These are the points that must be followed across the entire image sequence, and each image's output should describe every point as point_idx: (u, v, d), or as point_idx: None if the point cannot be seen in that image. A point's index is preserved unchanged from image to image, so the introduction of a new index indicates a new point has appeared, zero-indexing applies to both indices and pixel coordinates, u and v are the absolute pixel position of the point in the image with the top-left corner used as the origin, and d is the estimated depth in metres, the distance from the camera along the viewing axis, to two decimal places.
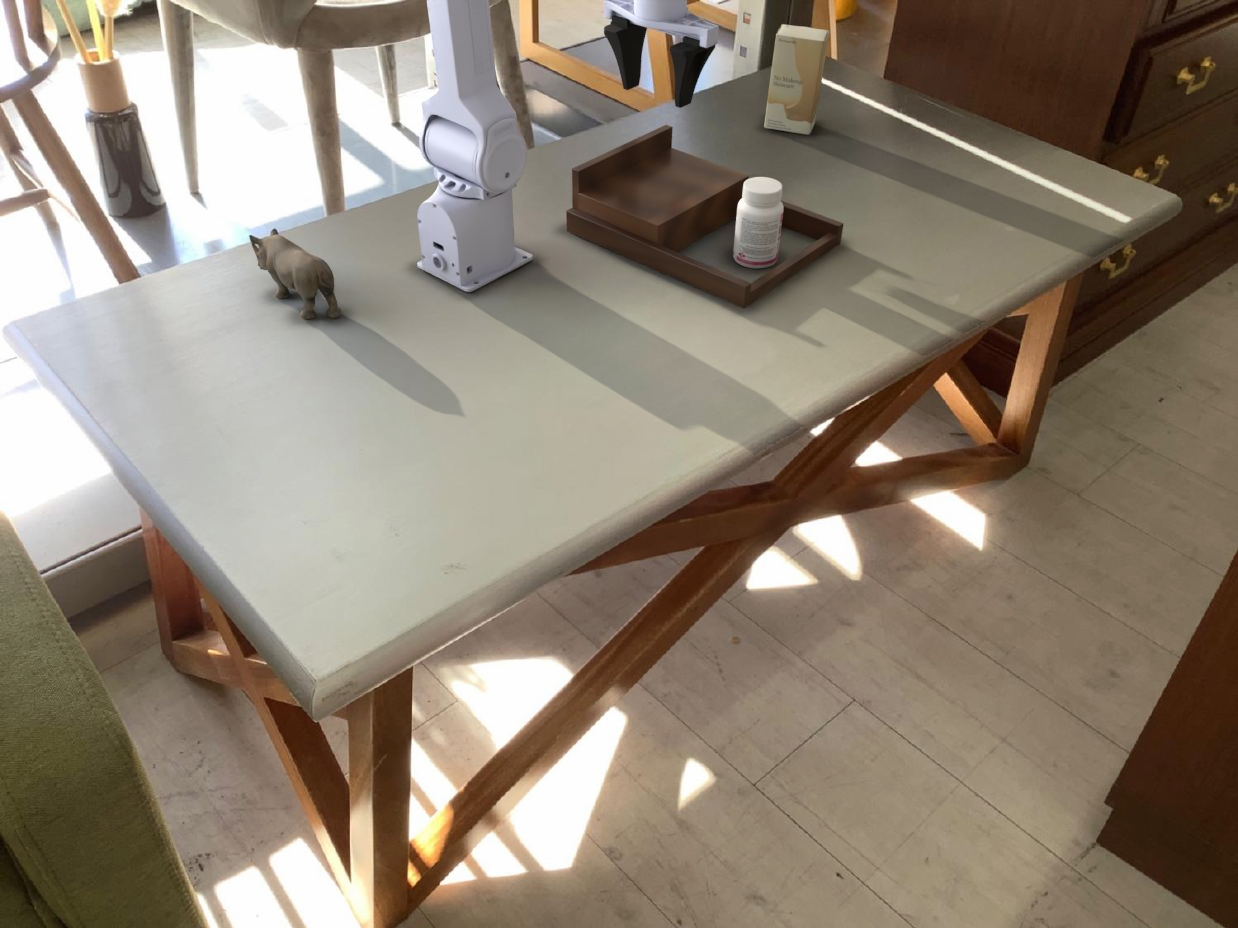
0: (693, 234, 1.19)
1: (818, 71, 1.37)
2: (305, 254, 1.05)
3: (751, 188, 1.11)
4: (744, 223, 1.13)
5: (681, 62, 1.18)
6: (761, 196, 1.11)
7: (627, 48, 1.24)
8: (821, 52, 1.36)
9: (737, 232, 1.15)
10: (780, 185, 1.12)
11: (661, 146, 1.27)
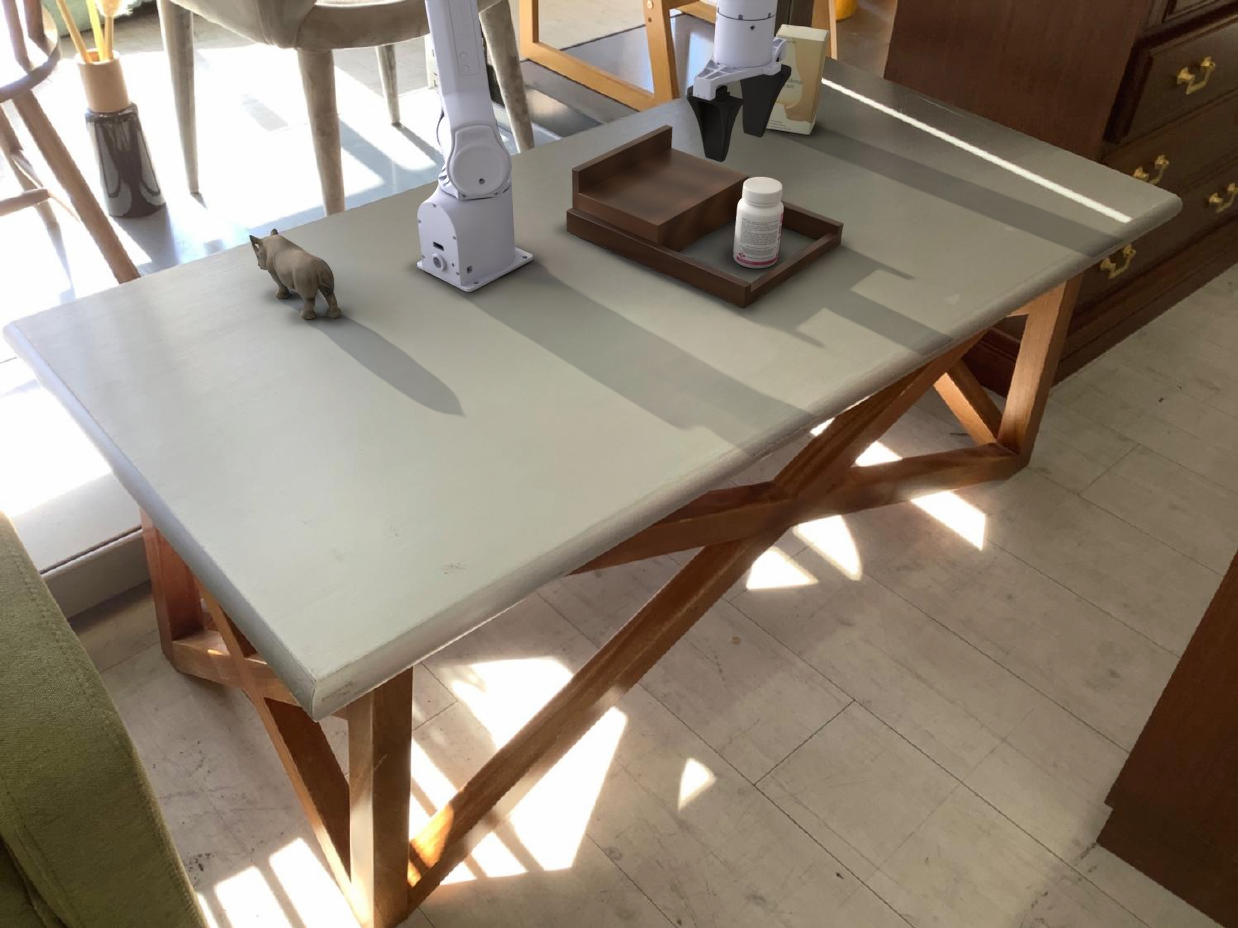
0: (693, 234, 1.19)
1: (818, 71, 1.37)
2: (305, 254, 1.05)
3: (751, 188, 1.11)
4: (744, 223, 1.13)
5: None
6: (761, 196, 1.11)
7: (749, 89, 1.14)
8: (821, 52, 1.36)
9: (737, 232, 1.15)
10: (780, 185, 1.12)
11: (661, 146, 1.27)
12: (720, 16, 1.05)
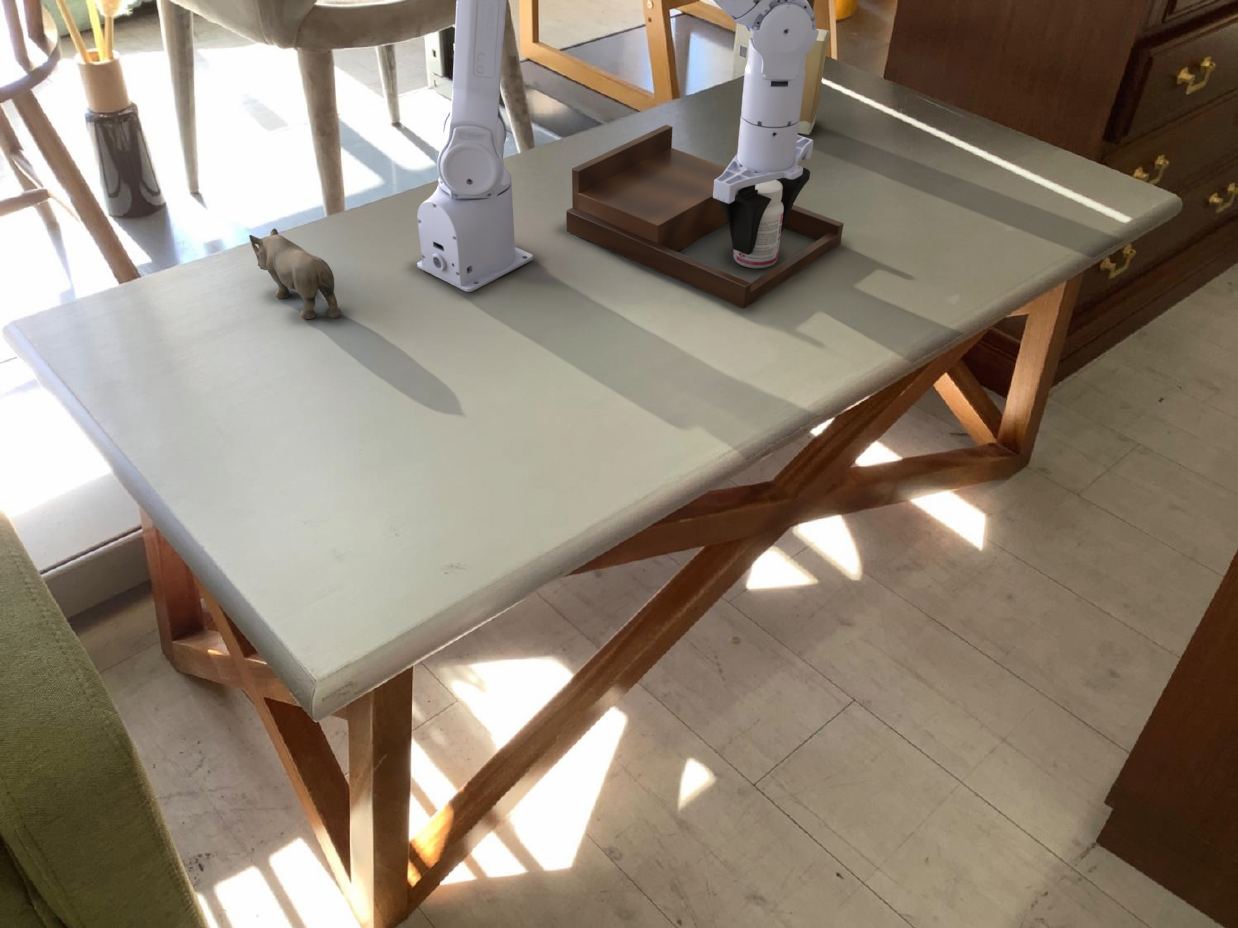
0: (693, 234, 1.19)
1: (818, 71, 1.37)
2: (305, 254, 1.05)
3: None
4: None
5: None
6: None
7: None
8: (821, 52, 1.36)
9: None
10: (780, 185, 1.12)
11: (661, 146, 1.27)
12: (743, 121, 1.07)
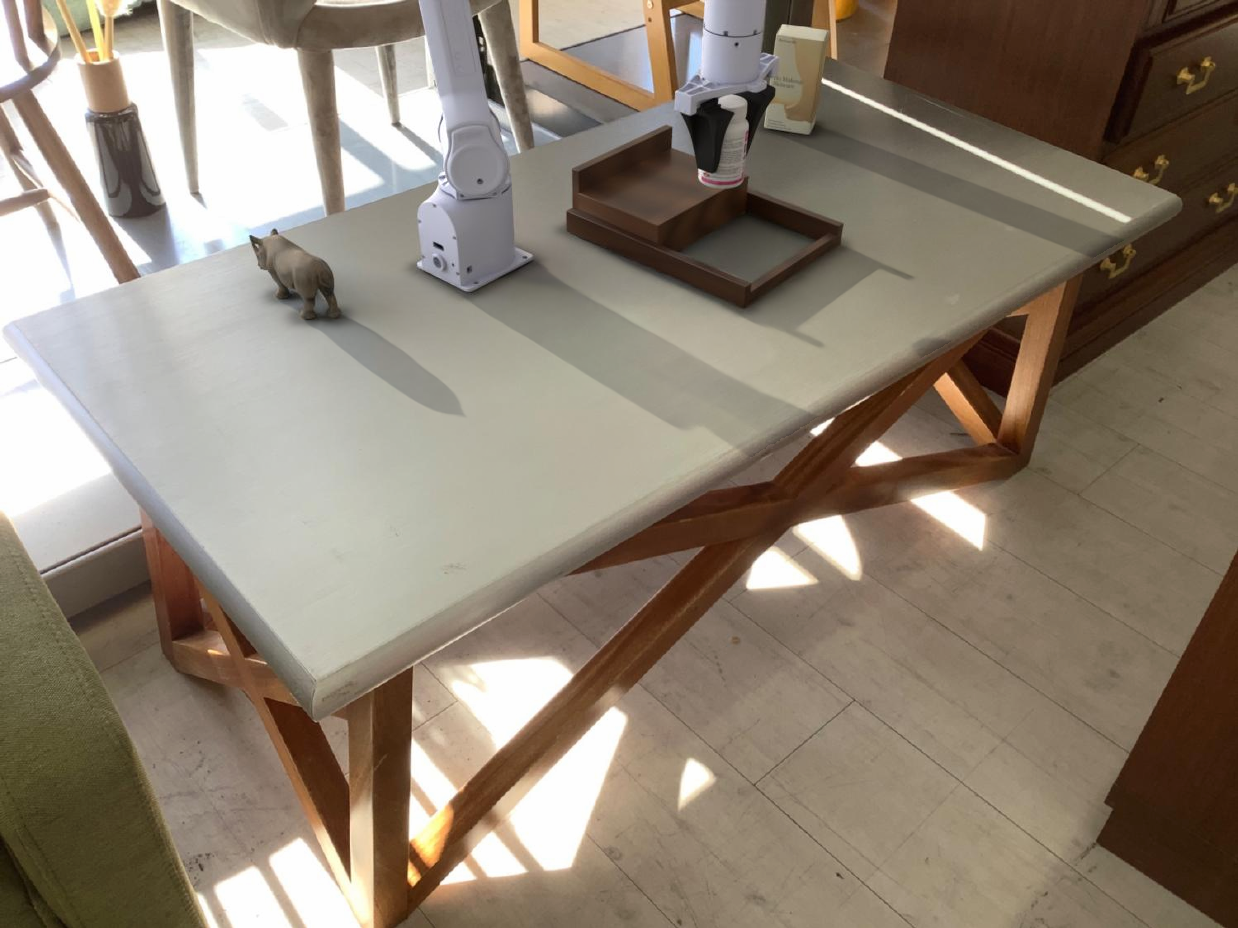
0: (693, 234, 1.19)
1: (818, 71, 1.37)
2: (305, 254, 1.05)
3: None
4: None
5: None
6: None
7: None
8: (821, 52, 1.36)
9: None
10: (745, 101, 1.10)
11: (661, 146, 1.27)
12: (705, 31, 1.05)
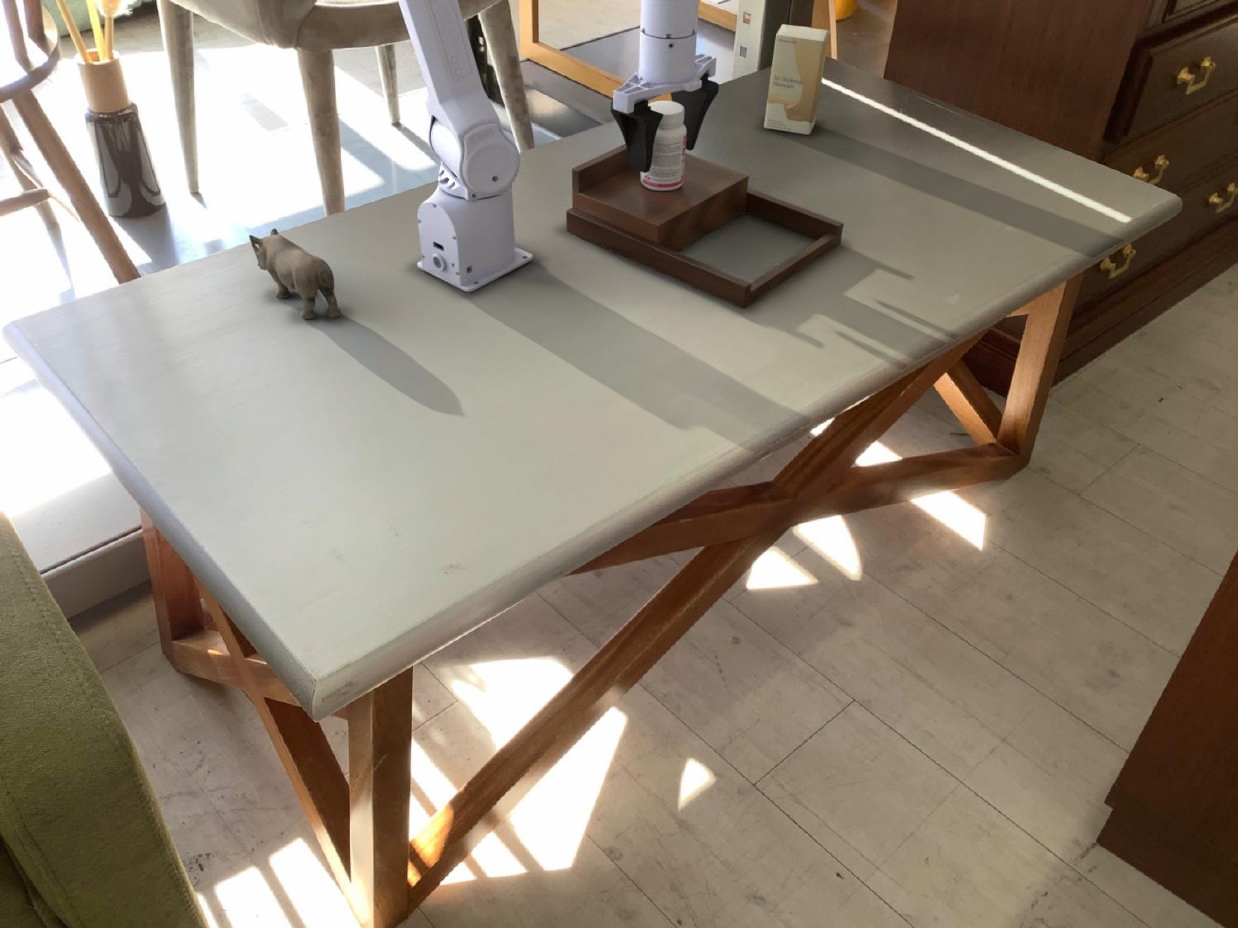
0: (693, 234, 1.19)
1: (818, 71, 1.37)
2: (305, 254, 1.05)
3: (653, 110, 1.15)
4: None
5: None
6: None
7: (679, 103, 1.19)
8: (821, 52, 1.36)
9: None
10: (682, 108, 1.16)
11: None
12: (642, 34, 1.10)
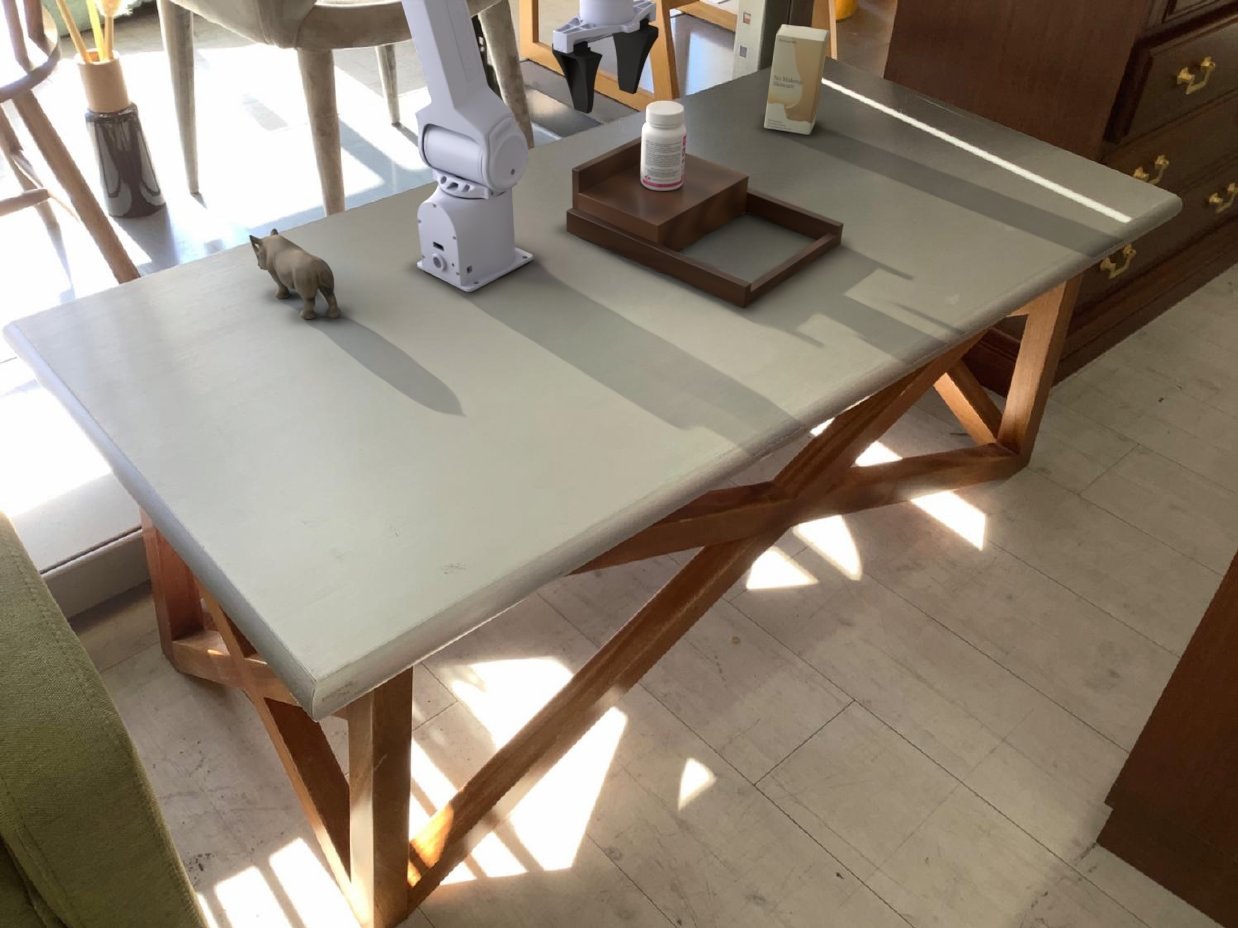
0: (693, 234, 1.19)
1: (818, 71, 1.37)
2: (305, 254, 1.05)
3: (653, 110, 1.15)
4: (648, 145, 1.17)
5: None
6: (662, 117, 1.14)
7: (621, 48, 1.23)
8: (821, 52, 1.36)
9: (642, 155, 1.18)
10: (682, 108, 1.16)
11: None
12: None
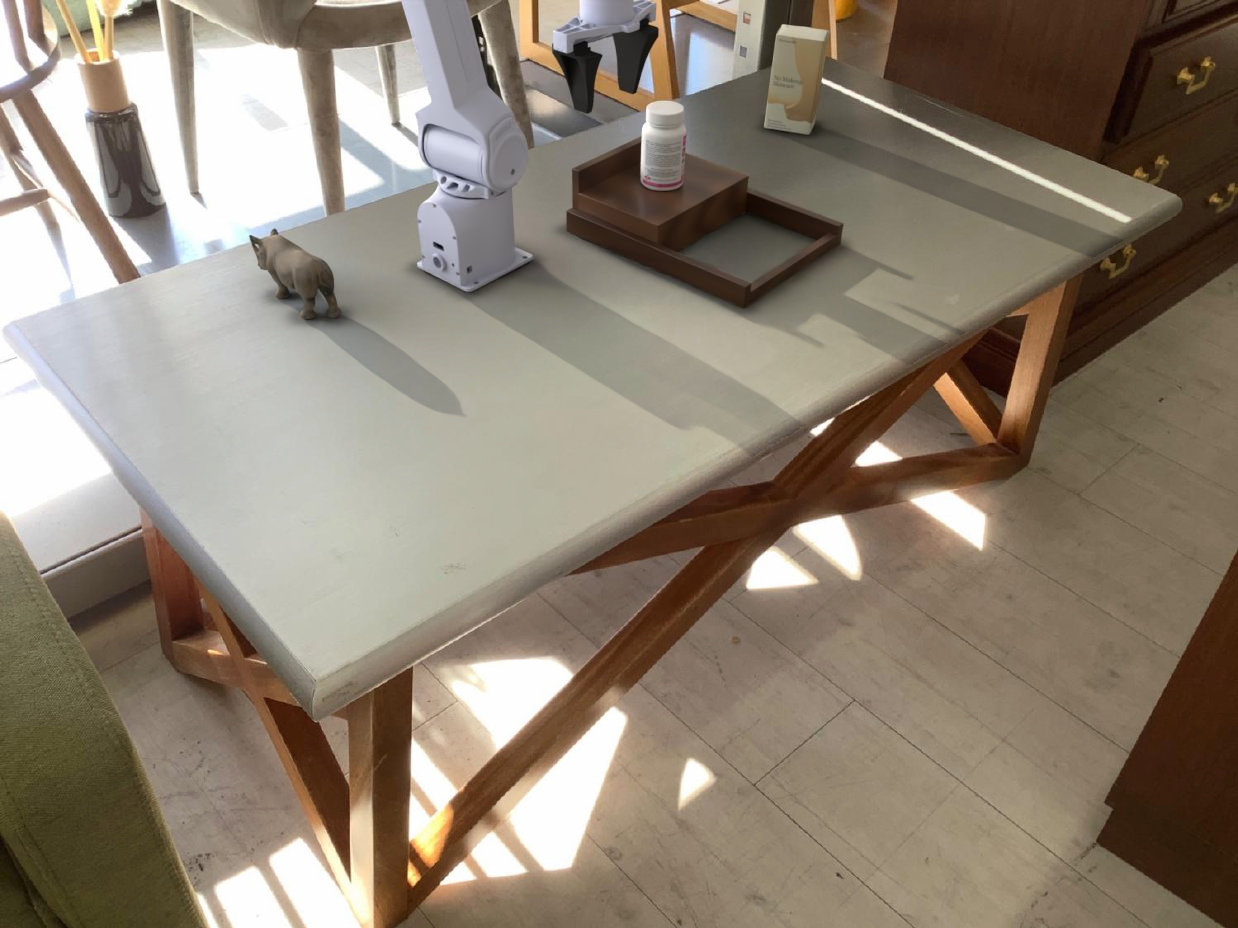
0: (693, 234, 1.19)
1: (818, 71, 1.37)
2: (305, 254, 1.05)
3: (653, 110, 1.15)
4: (648, 145, 1.17)
5: None
6: (662, 117, 1.14)
7: (621, 48, 1.23)
8: (821, 52, 1.36)
9: (642, 155, 1.18)
10: (682, 108, 1.16)
11: None
12: None
